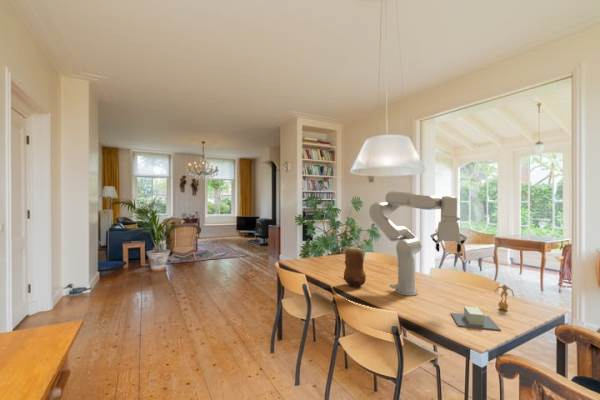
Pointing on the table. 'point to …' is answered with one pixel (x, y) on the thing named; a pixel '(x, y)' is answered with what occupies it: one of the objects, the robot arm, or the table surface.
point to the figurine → (502, 303)
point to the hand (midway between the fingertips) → (448, 251)
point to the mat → (463, 322)
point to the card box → (474, 315)
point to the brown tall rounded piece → (354, 267)
